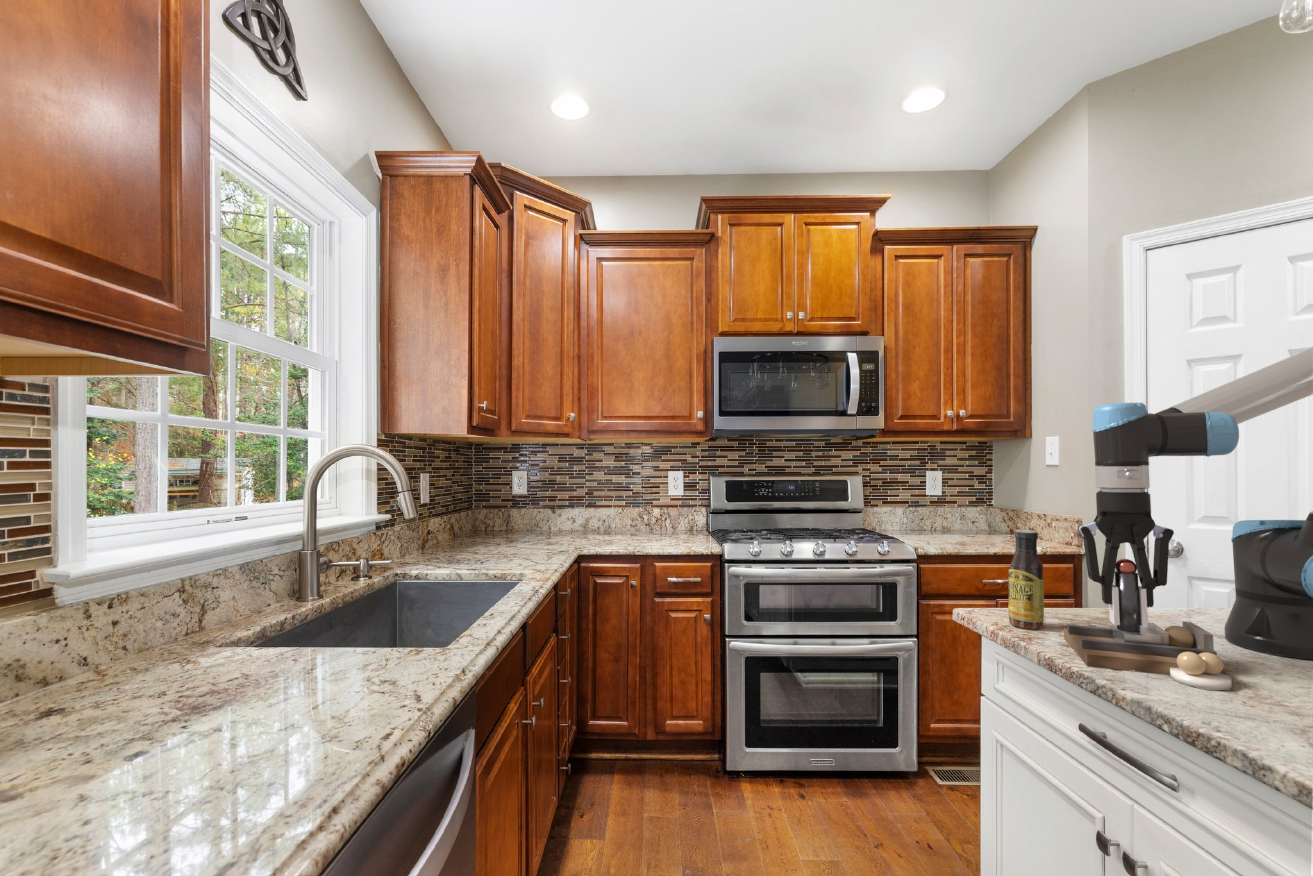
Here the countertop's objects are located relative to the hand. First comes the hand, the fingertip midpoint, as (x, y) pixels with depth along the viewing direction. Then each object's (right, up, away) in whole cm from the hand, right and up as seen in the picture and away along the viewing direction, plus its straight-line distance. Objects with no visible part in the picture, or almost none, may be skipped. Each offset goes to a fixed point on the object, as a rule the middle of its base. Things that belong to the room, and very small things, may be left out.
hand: (1128, 623), depth 102 cm
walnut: (+6, -4, -3) cm, 8 cm away
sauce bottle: (-6, -7, +19) cm, 21 cm away
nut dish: (+2, -5, -12) cm, 13 cm away
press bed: (+1, -6, -1) cm, 6 cm away
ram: (+1, -3, -1) cm, 4 cm away
